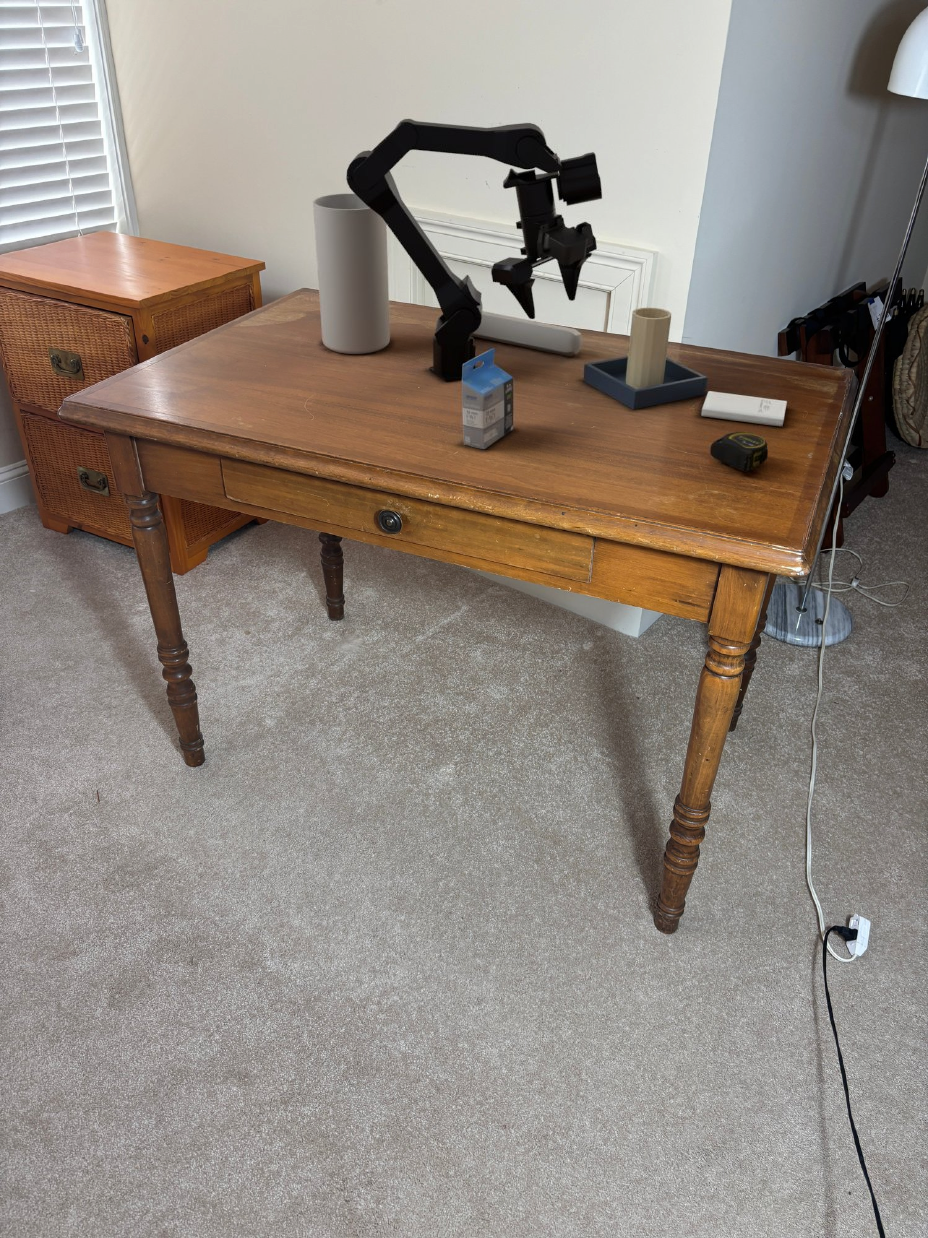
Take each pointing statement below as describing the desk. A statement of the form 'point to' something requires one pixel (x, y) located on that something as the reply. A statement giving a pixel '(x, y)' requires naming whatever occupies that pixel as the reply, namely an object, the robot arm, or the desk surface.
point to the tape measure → (740, 450)
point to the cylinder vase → (352, 274)
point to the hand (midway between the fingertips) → (552, 309)
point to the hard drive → (744, 408)
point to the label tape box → (486, 401)
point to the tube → (529, 334)
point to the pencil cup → (647, 347)
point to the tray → (675, 387)
